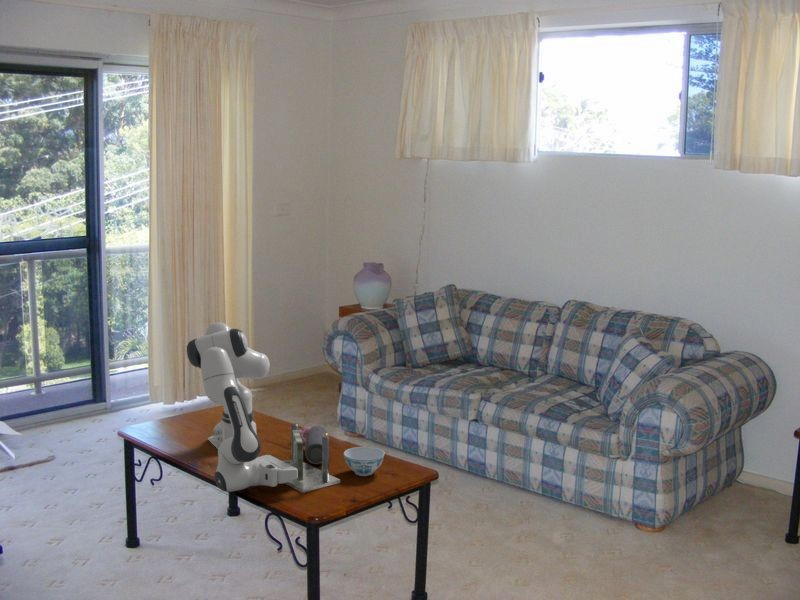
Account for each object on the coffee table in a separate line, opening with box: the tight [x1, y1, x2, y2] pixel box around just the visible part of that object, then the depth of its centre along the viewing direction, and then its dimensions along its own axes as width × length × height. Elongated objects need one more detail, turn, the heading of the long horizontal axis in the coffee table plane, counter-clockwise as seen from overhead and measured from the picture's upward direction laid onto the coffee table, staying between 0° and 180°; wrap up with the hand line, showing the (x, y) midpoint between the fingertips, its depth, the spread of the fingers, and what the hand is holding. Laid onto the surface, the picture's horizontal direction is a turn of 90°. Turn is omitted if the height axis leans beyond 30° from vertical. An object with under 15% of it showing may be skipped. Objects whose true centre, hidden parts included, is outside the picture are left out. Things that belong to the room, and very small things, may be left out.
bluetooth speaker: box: [304, 425, 330, 465], centre depth 336 cm, size 23×9×10 cm, turn 4°
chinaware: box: [343, 446, 385, 477], centre depth 320 cm, size 15×15×8 cm
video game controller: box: [298, 426, 313, 446], centre depth 357 cm, size 10×5×7 cm, turn 141°
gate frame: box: [284, 423, 341, 494], centre depth 313 cm, size 24×16×19 cm, turn 40°
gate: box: [293, 429, 304, 481], centre depth 313 cm, size 16×2×14 cm, turn 13°
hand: (294, 463), depth 309 cm, fingers closed
